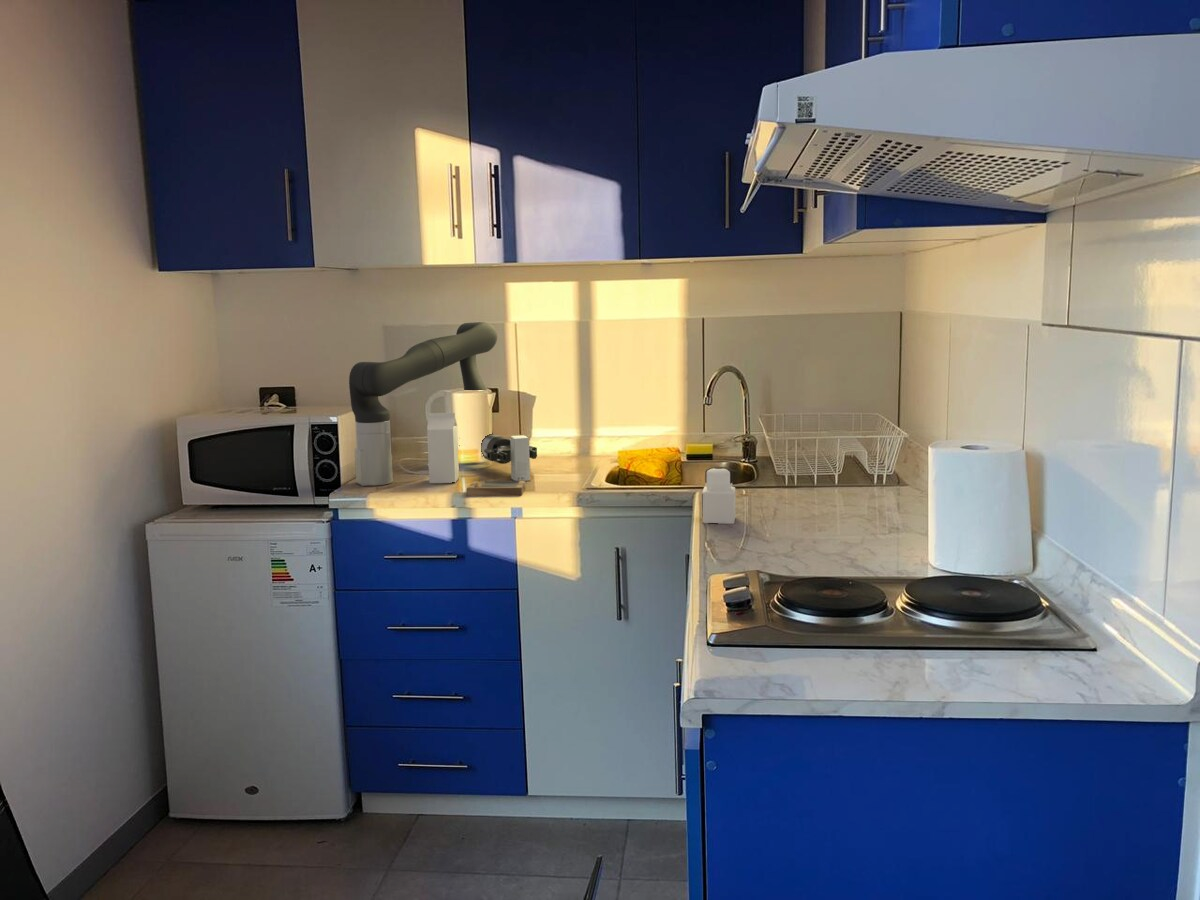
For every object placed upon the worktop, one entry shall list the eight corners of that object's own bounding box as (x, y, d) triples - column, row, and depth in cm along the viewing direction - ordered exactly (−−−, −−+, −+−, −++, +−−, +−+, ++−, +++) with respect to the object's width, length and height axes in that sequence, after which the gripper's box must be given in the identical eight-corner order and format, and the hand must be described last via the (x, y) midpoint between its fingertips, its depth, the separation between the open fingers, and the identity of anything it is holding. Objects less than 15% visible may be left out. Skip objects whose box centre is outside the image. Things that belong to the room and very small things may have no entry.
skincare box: (530, 480, 288) (529, 437, 287) (515, 481, 287) (514, 438, 285) (525, 477, 294) (524, 434, 292) (510, 478, 293) (509, 435, 291)
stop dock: (478, 482, 287) (477, 475, 287) (529, 482, 287) (528, 474, 286) (467, 496, 269) (466, 488, 268) (521, 495, 268) (521, 487, 268)
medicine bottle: (703, 516, 240) (703, 465, 238) (735, 517, 239) (735, 465, 237) (701, 523, 233) (701, 470, 232) (734, 524, 232) (734, 471, 230)
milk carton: (455, 483, 286) (452, 414, 283) (429, 484, 286) (426, 414, 283) (459, 478, 293) (456, 411, 290) (433, 479, 293) (431, 411, 290)
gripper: (474, 438, 300) (496, 445, 285) (520, 434, 306) (544, 440, 292) (475, 464, 301) (497, 472, 287) (521, 459, 307) (544, 467, 293)
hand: (521, 456), depth 289 cm, fingers open, 8 cm apart
